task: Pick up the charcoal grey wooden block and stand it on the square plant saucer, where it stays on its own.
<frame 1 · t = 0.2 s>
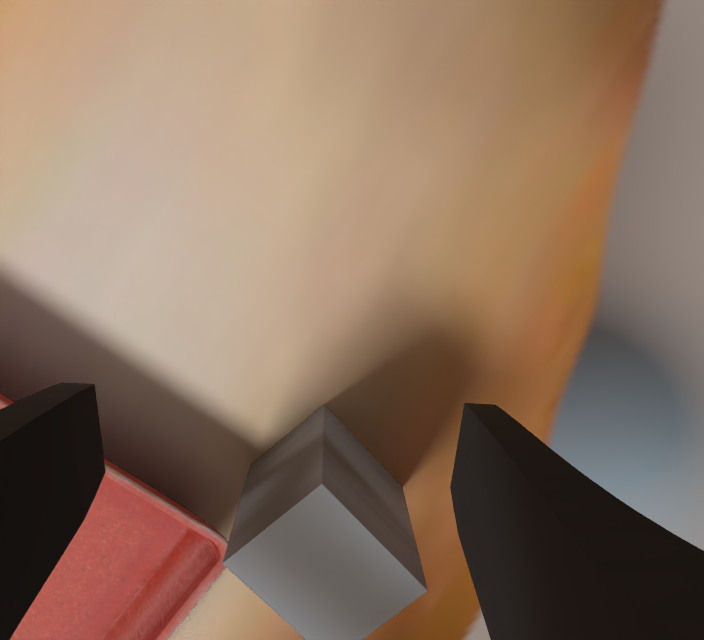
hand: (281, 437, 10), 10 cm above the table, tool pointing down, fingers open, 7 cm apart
charcoal block: (327, 475, 22), on the table
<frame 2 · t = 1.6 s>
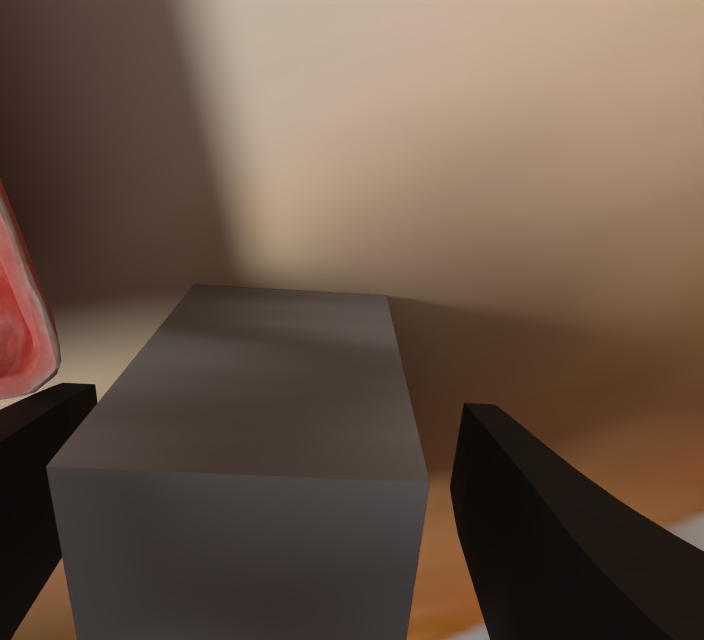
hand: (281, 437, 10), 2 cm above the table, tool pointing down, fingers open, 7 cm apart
charcoal block: (288, 393, 12), on the table
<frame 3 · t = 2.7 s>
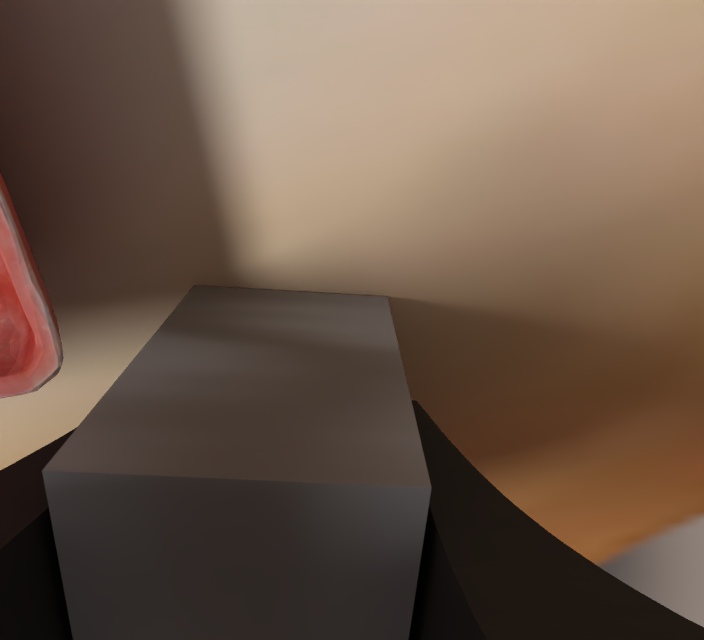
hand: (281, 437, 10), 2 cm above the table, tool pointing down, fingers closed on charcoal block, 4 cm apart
charcoal block: (288, 395, 12), on the table, touching gripper
when the fingers open (5 cm above the table, at t = 6.3 s): charcoal block stays where it is, resting on plant saucer.
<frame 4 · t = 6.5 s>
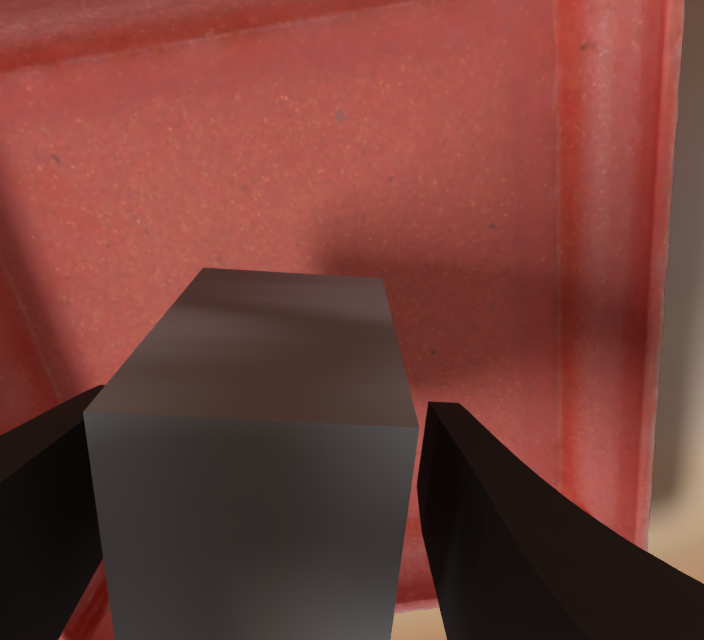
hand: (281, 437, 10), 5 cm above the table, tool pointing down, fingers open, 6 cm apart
charcoal block: (290, 372, 13), point 3 cm above the table, touching plant saucer
plant saucer: (301, 309, 16), on the table, touching charcoal block
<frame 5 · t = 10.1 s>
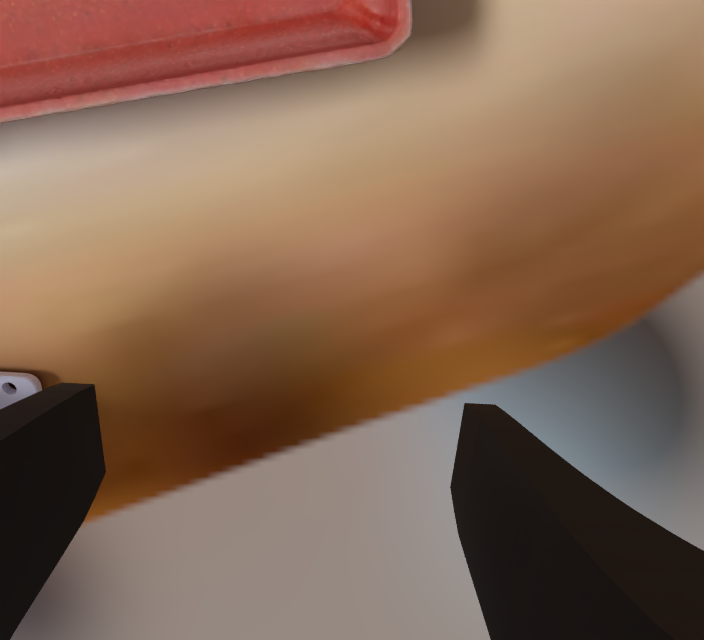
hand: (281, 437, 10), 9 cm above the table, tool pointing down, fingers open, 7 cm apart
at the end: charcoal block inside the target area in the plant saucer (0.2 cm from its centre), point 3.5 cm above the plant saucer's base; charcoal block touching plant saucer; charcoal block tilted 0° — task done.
